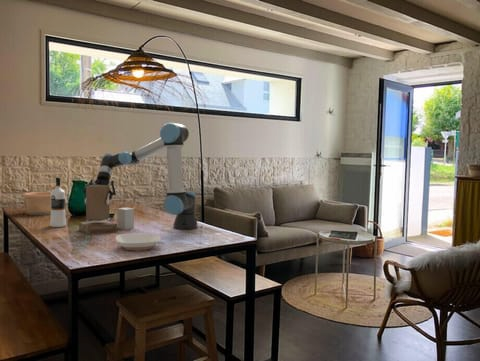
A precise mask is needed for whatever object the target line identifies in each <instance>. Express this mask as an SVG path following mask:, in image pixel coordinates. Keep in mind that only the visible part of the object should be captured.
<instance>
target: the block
mask: <svg viewBox="0 0 480 361" xmlns="http://www.w3.org/2000/svg"><path fill="white" fill-rule="evenodd" d="M85 188H86V204H85V205H86V207H85V214H86V215H85V219H86V220H87V221H102V220H108V219H109V218H110V204H109V205H107V203H106V201H107V197H108V193H109V189H110V185H89V186H87V185H86V186H85ZM110 190H111V189H110Z"/></svg>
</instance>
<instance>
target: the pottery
mask: <svg viewBox="0 0 480 361" xmlns="http://www.w3.org/2000/svg"><path fill="white" fill-rule="evenodd" d="M50 193H51V191H31V192H24V193H23V194H22V195H23V196H22V197H24V199H25V206H26V211H27V215H30V216H45V215H51V194H50Z"/></svg>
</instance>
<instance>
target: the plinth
mask: <svg viewBox="0 0 480 361" xmlns="http://www.w3.org/2000/svg"><path fill="white" fill-rule="evenodd" d="M78 224H79V225H78V226H79V227H78V229H79V231H80V232H83V233H85V234H88V235H90V236H92V235H98V234H99V235H100V234H106V233H109V234H110V233H116V232H118V228H117V222H116V223H115V222H114V221H109V220H108V219H105V220H102V221H95V220H87V221H79V223H78Z"/></svg>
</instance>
